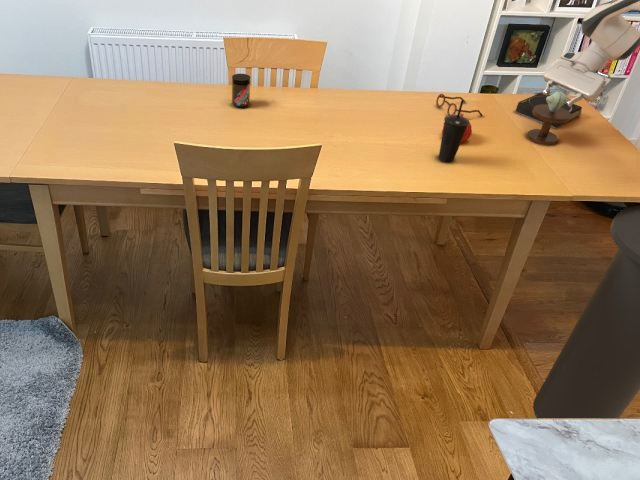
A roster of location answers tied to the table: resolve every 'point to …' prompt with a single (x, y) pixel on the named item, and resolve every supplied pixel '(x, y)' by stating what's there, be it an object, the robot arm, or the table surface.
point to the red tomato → (467, 132)
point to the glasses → (453, 104)
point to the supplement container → (240, 90)
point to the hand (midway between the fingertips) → (555, 99)
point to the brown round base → (547, 124)
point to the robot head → (556, 101)
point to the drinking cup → (452, 135)
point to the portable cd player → (528, 104)
